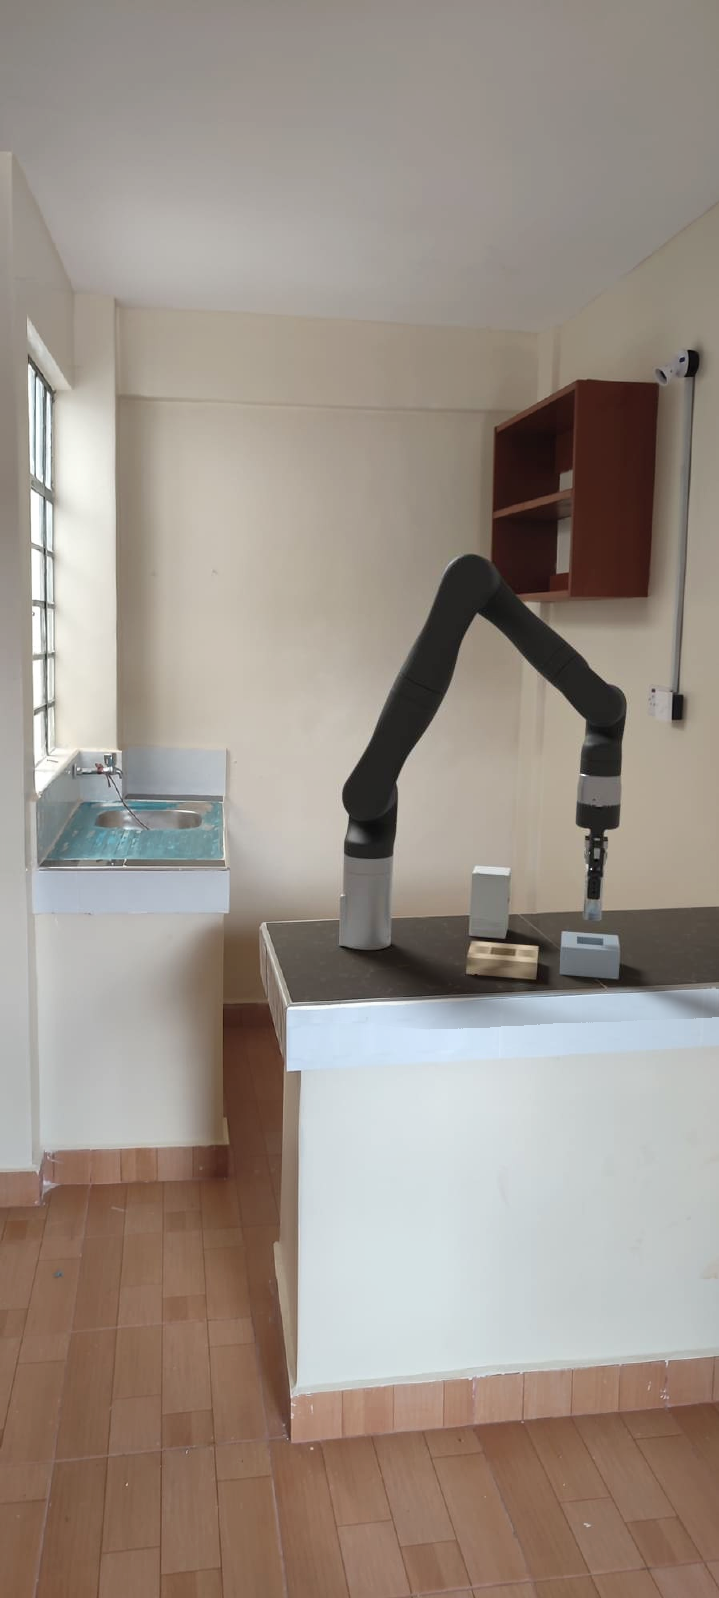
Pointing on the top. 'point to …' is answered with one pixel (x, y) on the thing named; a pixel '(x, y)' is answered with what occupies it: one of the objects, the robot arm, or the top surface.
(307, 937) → the top surface
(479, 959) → the mount
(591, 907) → the pin
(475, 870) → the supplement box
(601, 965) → the socket
